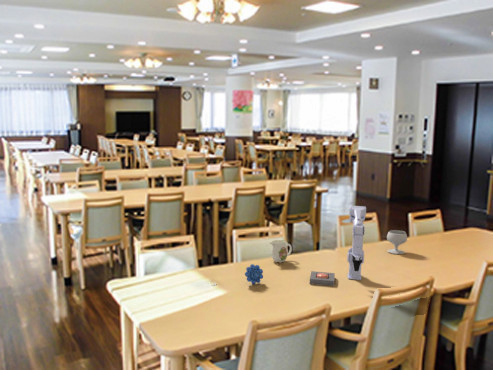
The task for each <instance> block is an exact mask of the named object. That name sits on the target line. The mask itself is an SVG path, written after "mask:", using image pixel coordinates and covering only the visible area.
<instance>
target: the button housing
mask: <svg viewBox="0 0 493 370" xmlns="http://www.w3.org/2000/svg"><path fill="white" fill-rule="evenodd" d="M318 273H325V274H328V279H326V278H317V274H318ZM309 284H310V285H318V286H319V285H320V286H331V287H335V273H334V272H324V271H313V270H312V271H310V277H309Z"/></svg>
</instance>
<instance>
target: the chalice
mask: <svg viewBox="0 0 493 370" xmlns="http://www.w3.org/2000/svg"><path fill="white" fill-rule="evenodd" d="M386 239H387V241H388V242H389V243H391V244H392V245H393V246H394V248H390V249H387V250H386V251H387V252H388V253H391V254H394V255H403V254H405V250H401V249H399V246H400V245H403V244H405V243H406V242H407V241H408V235H407V233H406V231H403V230H398V229H394V230H393V229H391V230H389V231H388V232H387V235H386Z"/></svg>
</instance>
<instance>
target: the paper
mask: <svg viewBox="0 0 493 370" xmlns="http://www.w3.org/2000/svg"><path fill="white" fill-rule="evenodd" d="M209 285H210V286H213V287H216V286H217V283H216V282H213V284H211V283H209ZM205 297H206V298H209V296H208V295H207V296H205Z"/></svg>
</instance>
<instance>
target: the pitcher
mask: <svg viewBox="0 0 493 370" xmlns="http://www.w3.org/2000/svg"><path fill="white" fill-rule="evenodd" d="M269 244H271V251H270V252H271V258H272V260H273V262H274V261H275V262H274V263H276V262H283V263H285V262H286V260H287V257H289V256H290V255H291V253H292V251H293V248H292V245H291V244H290V243H288V242H287V241H286V240H278V239H277V240H272V241H269ZM288 247H289V249H288Z"/></svg>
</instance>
